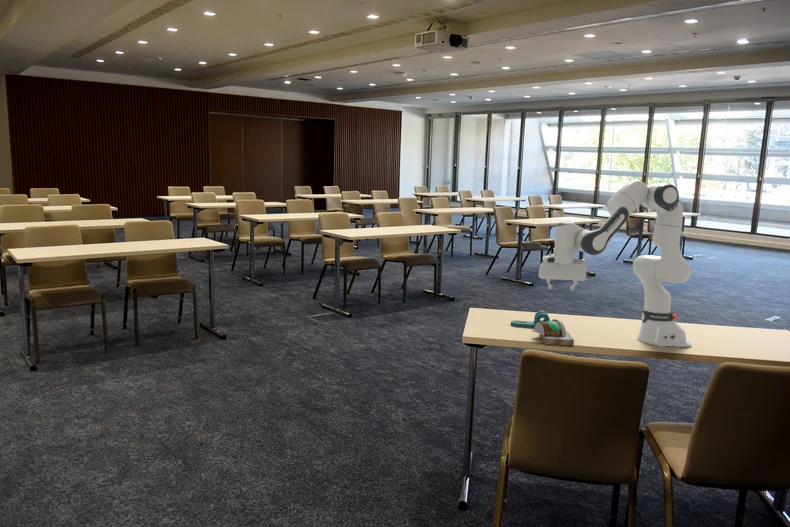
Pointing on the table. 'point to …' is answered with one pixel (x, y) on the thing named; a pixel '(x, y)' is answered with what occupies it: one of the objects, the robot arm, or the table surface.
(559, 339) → the grey flat block
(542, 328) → the food container
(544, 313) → the bracket
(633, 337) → the table surface
